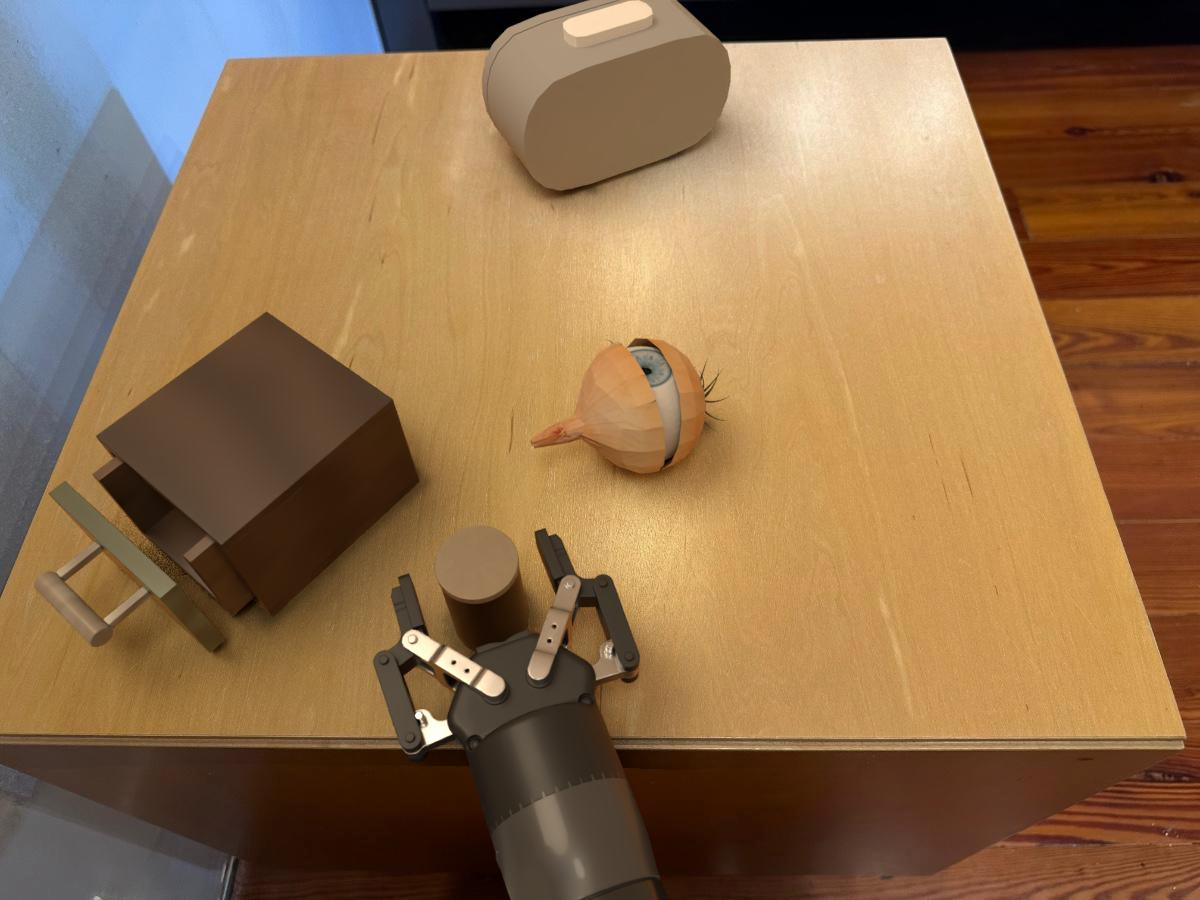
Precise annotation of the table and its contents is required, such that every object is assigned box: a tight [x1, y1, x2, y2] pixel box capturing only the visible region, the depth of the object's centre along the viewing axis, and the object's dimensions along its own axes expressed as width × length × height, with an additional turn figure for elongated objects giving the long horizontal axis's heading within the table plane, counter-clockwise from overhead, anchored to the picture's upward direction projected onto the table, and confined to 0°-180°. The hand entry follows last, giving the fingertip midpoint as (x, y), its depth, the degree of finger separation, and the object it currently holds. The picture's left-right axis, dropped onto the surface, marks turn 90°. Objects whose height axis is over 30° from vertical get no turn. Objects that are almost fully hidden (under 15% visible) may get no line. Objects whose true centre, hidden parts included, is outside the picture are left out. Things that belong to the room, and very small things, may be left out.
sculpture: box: [529, 337, 729, 475], centre depth 64 cm, size 9×9×15 cm
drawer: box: [33, 457, 255, 654], centre depth 59 cm, size 17×11×8 cm
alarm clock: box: [481, 0, 732, 192], centre depth 83 cm, size 21×10×13 cm, turn 117°
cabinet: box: [95, 311, 420, 617], centre depth 62 cm, size 14×13×10 cm
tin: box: [434, 525, 529, 653], centre depth 57 cm, size 5×5×8 cm
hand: (473, 558), depth 56 cm, fingers open, 8 cm apart
